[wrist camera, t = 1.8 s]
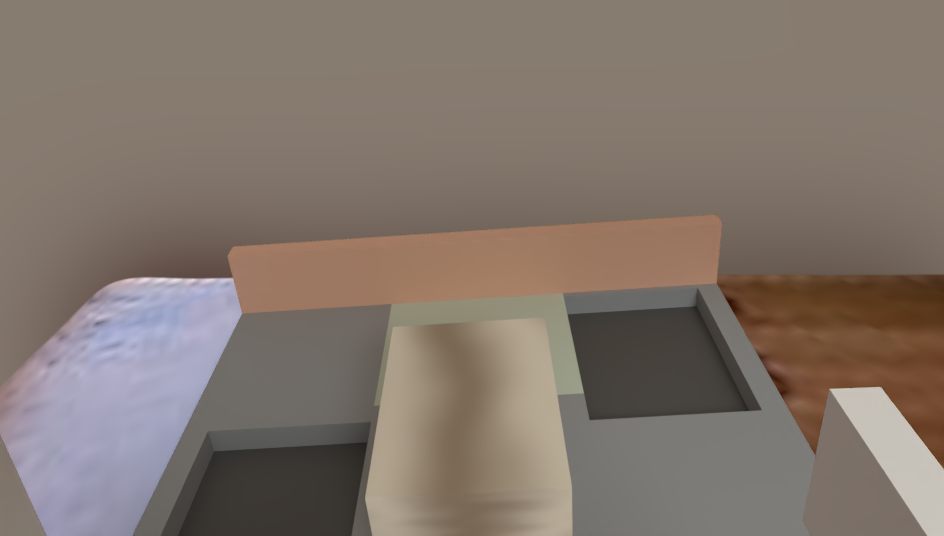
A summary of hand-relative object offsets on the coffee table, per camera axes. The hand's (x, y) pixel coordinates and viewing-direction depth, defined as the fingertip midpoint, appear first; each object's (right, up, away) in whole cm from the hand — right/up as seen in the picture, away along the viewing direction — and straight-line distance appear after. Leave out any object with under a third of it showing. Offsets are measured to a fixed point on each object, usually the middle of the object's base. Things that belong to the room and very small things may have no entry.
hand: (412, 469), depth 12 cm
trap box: (+2, -7, +34) cm, 35 cm away
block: (+1, -9, +26) cm, 28 cm away
